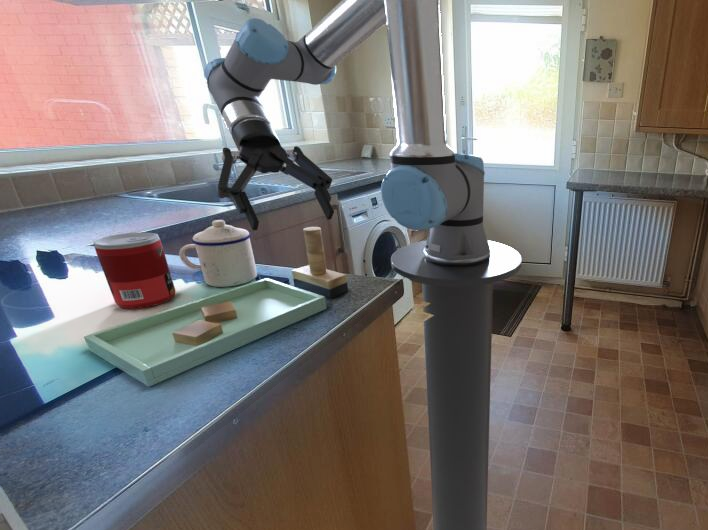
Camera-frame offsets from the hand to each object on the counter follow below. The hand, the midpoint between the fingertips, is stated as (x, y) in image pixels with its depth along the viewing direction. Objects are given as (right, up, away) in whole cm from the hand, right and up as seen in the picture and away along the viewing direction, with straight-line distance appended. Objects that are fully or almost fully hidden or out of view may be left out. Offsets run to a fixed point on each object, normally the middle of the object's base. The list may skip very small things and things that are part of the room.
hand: (295, 220), depth 77 cm
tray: (-4, -19, -15) cm, 24 cm away
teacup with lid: (-15, -11, +2) cm, 19 cm away
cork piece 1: (-4, -20, -19) cm, 28 cm away
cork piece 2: (-5, -17, -13) cm, 22 cm away
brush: (+5, -13, 0) cm, 14 cm away
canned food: (-22, -15, -7) cm, 27 cm away
